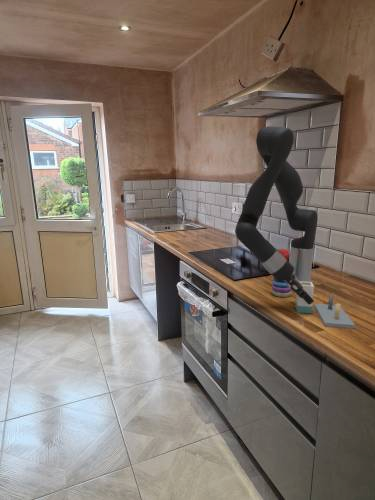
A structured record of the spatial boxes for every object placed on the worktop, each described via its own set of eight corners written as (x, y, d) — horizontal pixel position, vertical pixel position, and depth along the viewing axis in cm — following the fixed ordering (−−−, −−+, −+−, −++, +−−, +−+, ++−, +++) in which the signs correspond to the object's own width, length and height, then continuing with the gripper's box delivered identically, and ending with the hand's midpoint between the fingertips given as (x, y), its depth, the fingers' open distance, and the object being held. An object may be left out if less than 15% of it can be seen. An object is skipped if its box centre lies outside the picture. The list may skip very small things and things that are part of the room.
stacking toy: (287, 290, 135) (290, 247, 131) (294, 297, 127) (298, 251, 123) (268, 290, 135) (271, 247, 131) (274, 298, 127) (277, 251, 123)
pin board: (313, 306, 119) (315, 290, 118) (339, 308, 118) (341, 292, 116) (324, 326, 104) (326, 308, 102) (354, 328, 102) (357, 310, 101)
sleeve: (295, 307, 119) (297, 281, 116) (308, 308, 118) (311, 281, 116) (297, 312, 114) (299, 285, 112) (311, 313, 113) (314, 286, 111)
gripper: (288, 263, 106) (323, 300, 107) (283, 253, 120) (314, 286, 121) (271, 278, 108) (305, 314, 109) (267, 266, 122) (298, 298, 123)
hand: (309, 299), depth 115 cm, fingers closed on sleeve, 4 cm apart
